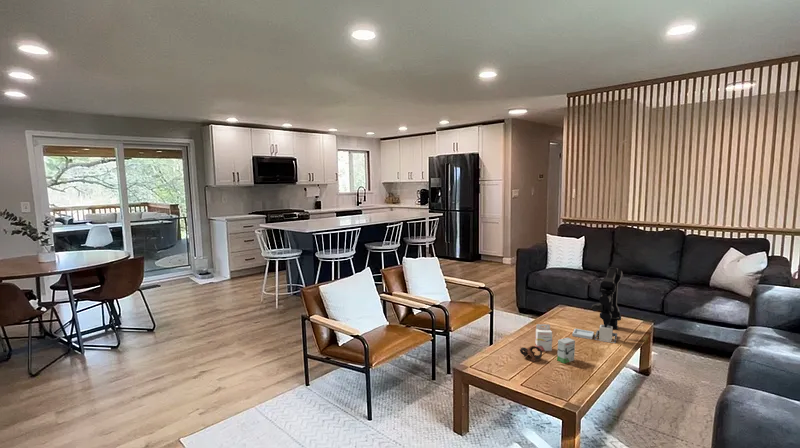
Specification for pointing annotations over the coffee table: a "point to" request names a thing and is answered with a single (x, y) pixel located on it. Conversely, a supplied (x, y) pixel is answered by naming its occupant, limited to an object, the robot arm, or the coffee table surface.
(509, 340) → the coffee table surface
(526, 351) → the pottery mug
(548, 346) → the ink cartridge box
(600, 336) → the cream box grey panel
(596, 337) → the grey flat square frame
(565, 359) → the ink box
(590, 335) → the tray
